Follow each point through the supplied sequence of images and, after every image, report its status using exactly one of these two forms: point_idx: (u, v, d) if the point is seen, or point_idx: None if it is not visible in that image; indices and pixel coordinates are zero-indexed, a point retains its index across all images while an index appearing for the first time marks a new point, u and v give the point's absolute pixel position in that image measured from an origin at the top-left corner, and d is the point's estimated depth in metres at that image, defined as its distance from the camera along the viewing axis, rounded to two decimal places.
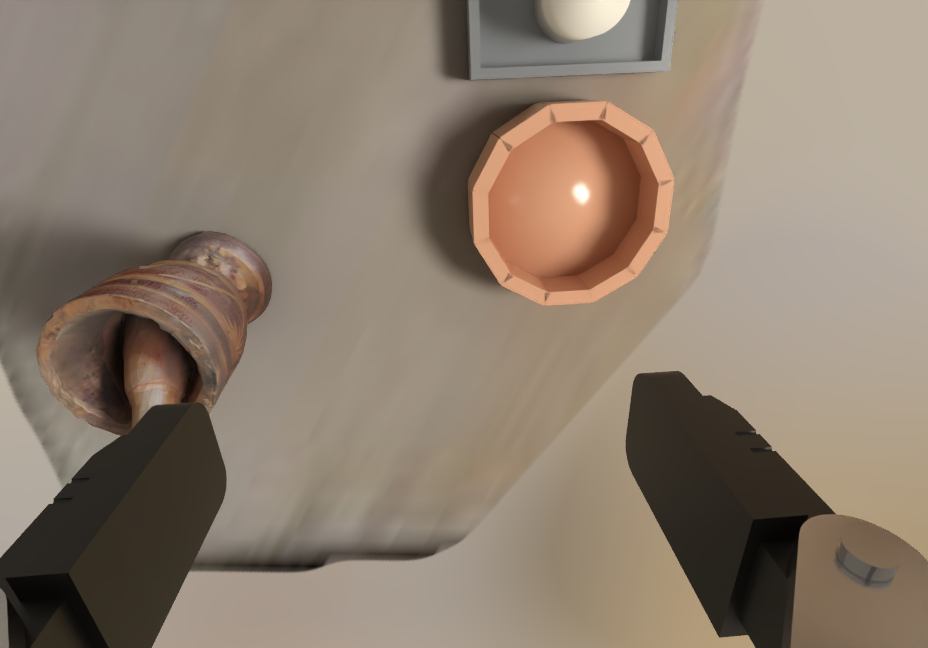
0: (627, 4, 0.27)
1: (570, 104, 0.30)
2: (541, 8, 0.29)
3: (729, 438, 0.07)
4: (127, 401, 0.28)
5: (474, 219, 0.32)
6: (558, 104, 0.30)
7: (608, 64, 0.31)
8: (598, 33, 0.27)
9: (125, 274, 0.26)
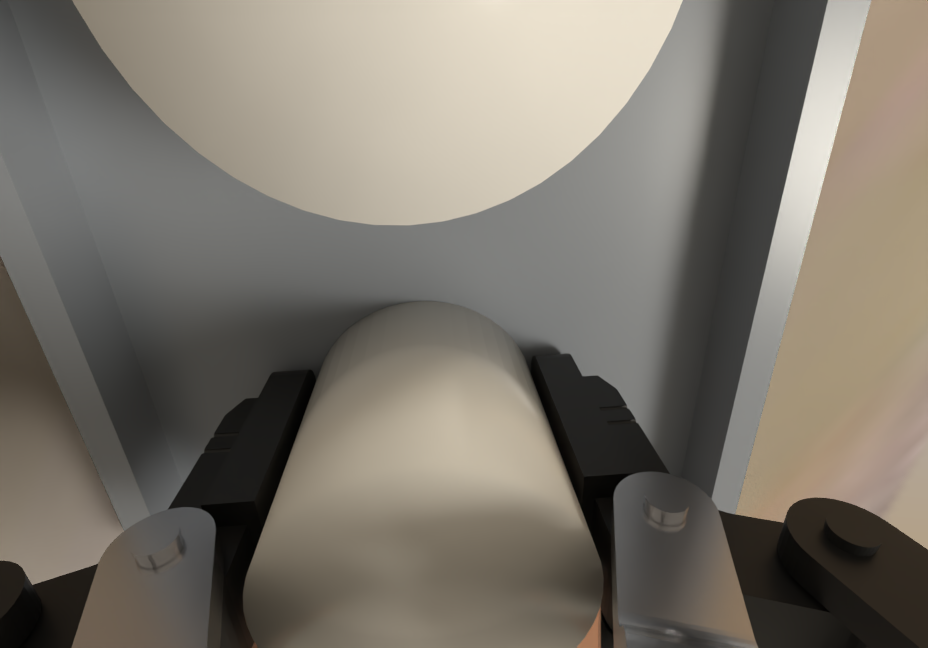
0: (580, 635, 0.07)
1: None
2: None
3: (591, 410, 0.08)
4: None
5: None
6: None
7: None
8: None
9: None
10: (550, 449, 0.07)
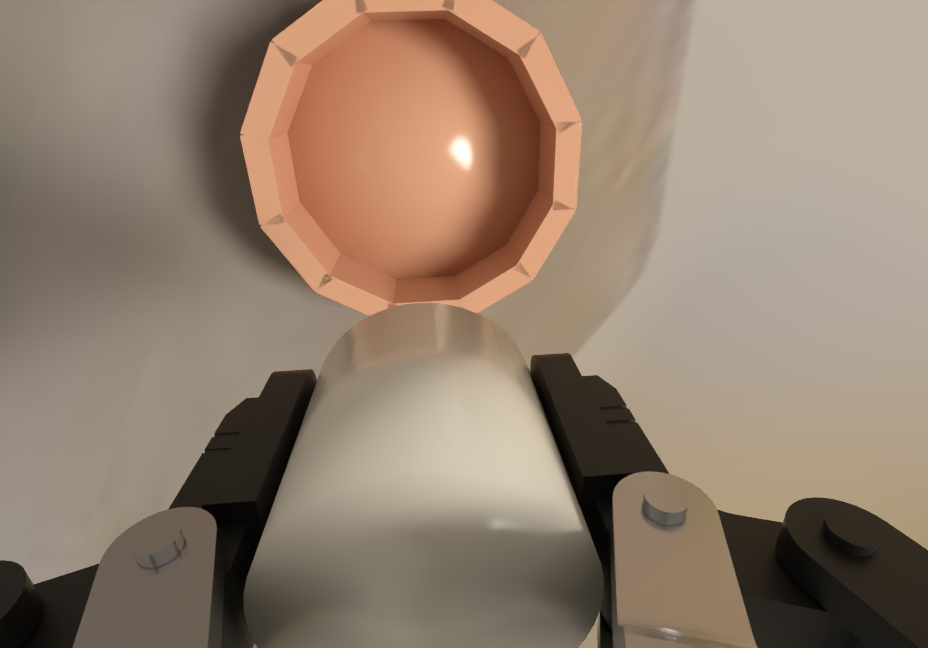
0: (580, 637, 0.07)
1: None
2: None
3: (590, 410, 0.08)
4: None
5: (252, 185, 0.20)
6: None
7: None
8: None
9: None
10: (550, 451, 0.07)
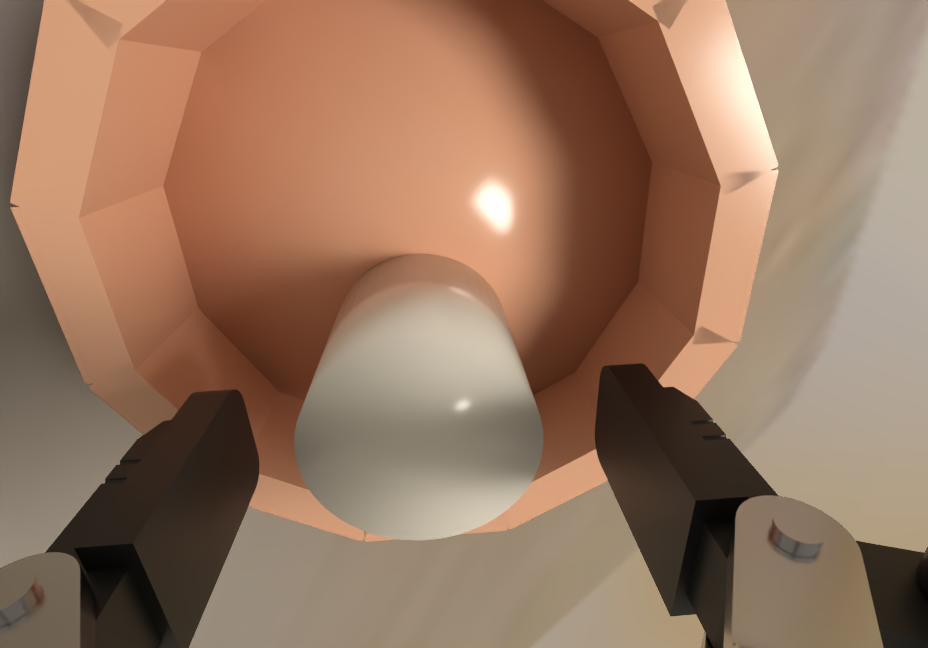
0: (529, 477, 0.09)
1: None
2: None
3: (683, 426, 0.08)
4: None
5: (57, 309, 0.09)
6: None
7: None
8: (453, 532, 0.10)
9: None
10: (509, 347, 0.10)
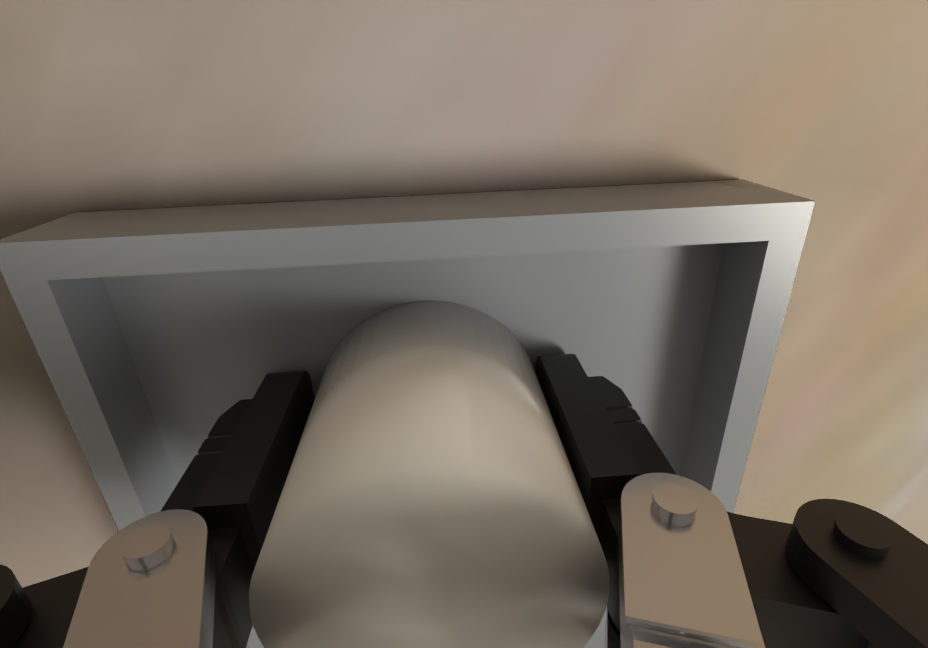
0: None
1: None
2: None
3: (596, 410, 0.08)
4: None
5: None
6: None
7: None
8: None
9: None
10: None
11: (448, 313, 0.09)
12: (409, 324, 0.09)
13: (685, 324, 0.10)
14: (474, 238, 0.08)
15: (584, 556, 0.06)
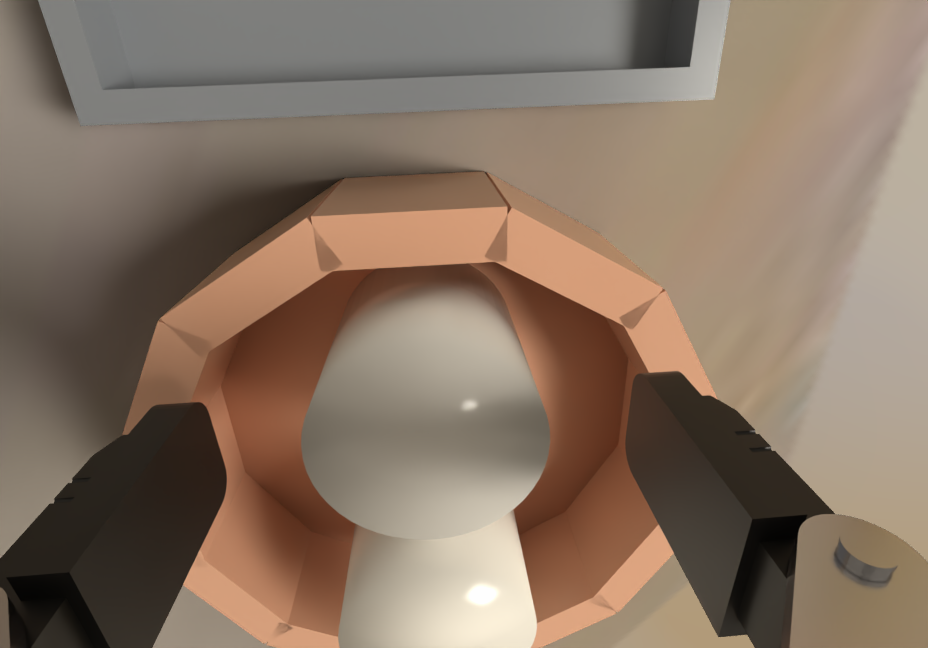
0: None
1: (381, 217, 0.09)
2: None
3: (728, 438, 0.07)
4: None
5: None
6: (342, 216, 0.09)
7: (523, 78, 0.10)
8: None
9: None
10: (508, 541, 0.12)
11: None
12: (411, 267, 0.11)
13: None
14: None
15: (531, 410, 0.09)
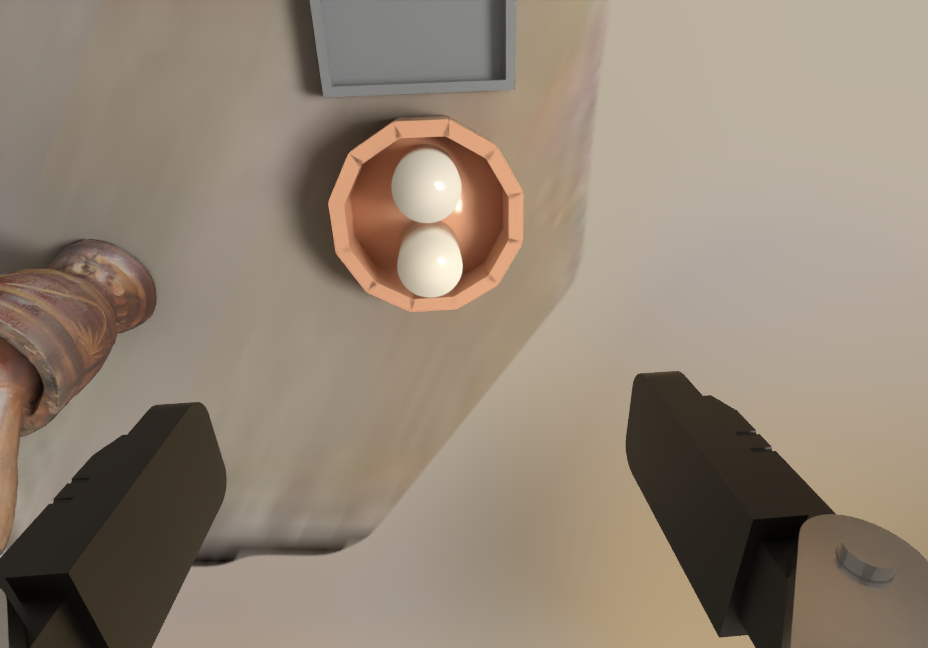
0: (459, 276, 0.34)
1: (413, 122, 0.31)
2: None
3: (729, 438, 0.07)
4: None
5: (333, 230, 0.34)
6: (402, 121, 0.32)
7: (455, 83, 0.33)
8: (439, 295, 0.35)
9: None
10: (453, 241, 0.34)
11: (431, 145, 0.34)
12: (420, 145, 0.34)
13: None
14: None
15: (455, 175, 0.31)
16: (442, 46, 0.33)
